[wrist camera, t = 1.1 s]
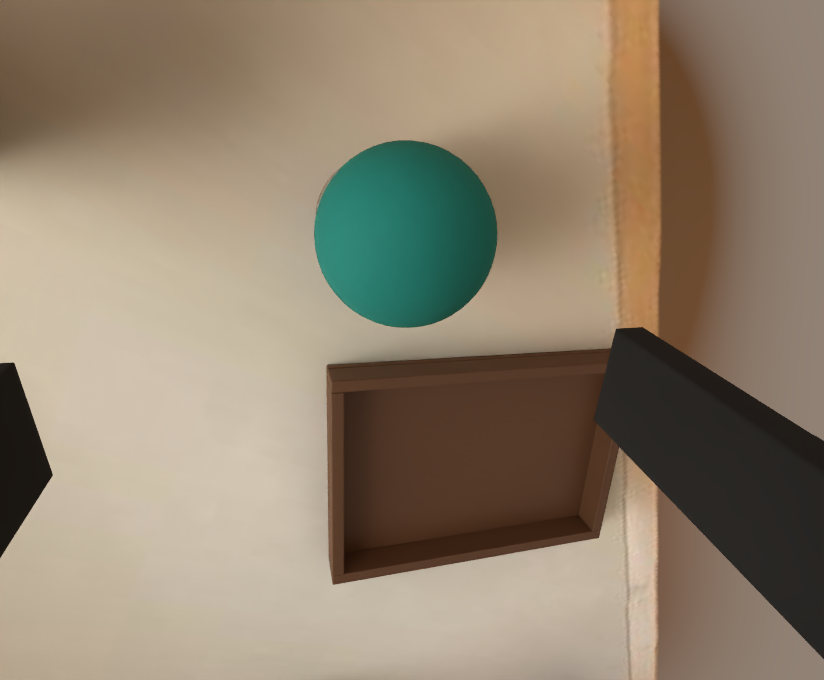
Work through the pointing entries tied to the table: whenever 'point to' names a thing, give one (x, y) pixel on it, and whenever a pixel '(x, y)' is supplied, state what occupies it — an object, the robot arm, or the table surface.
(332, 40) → the table surface
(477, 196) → the ball
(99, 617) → the table surface
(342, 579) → the tray
